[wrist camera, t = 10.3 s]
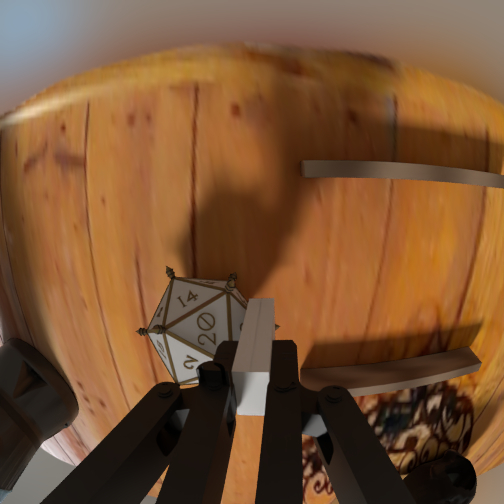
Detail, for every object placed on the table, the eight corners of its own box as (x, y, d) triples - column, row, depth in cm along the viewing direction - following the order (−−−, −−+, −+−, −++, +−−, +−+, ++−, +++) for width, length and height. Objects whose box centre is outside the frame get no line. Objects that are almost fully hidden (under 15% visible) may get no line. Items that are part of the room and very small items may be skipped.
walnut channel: (299, 377, 23) (301, 400, 21) (300, 161, 18) (304, 160, 15) (465, 354, 22) (478, 370, 19) (498, 175, 16) (520, 178, 14)
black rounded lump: (459, 424, 32) (500, 464, 20) (393, 487, 37) (424, 523, 26) (407, 464, 23) (460, 524, 12) (326, 523, 29) (360, 572, 17)
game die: (210, 270, 25) (123, 239, 16) (301, 286, 21) (238, 257, 12) (189, 365, 24) (98, 373, 15) (275, 397, 20) (199, 437, 11)
